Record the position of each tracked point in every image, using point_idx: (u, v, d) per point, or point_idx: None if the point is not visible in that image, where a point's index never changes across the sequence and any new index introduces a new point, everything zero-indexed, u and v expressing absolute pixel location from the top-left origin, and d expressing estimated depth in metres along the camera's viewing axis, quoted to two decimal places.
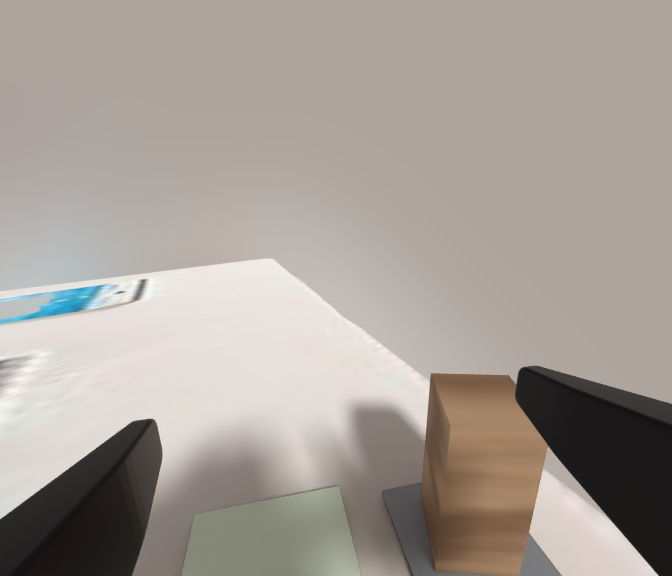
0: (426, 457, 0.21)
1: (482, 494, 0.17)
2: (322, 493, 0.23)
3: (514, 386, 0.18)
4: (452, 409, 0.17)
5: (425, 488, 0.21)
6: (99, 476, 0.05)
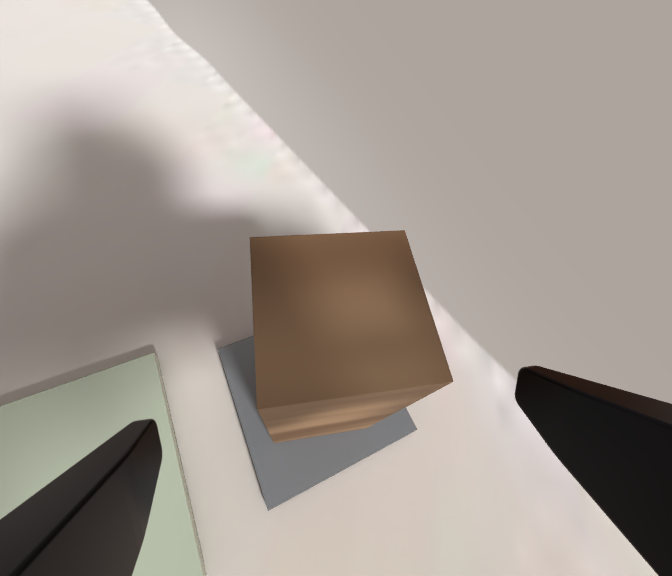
0: None
1: (326, 421, 0.11)
2: (127, 368, 0.16)
3: (409, 262, 0.09)
4: (273, 350, 0.08)
5: None
6: (99, 476, 0.05)
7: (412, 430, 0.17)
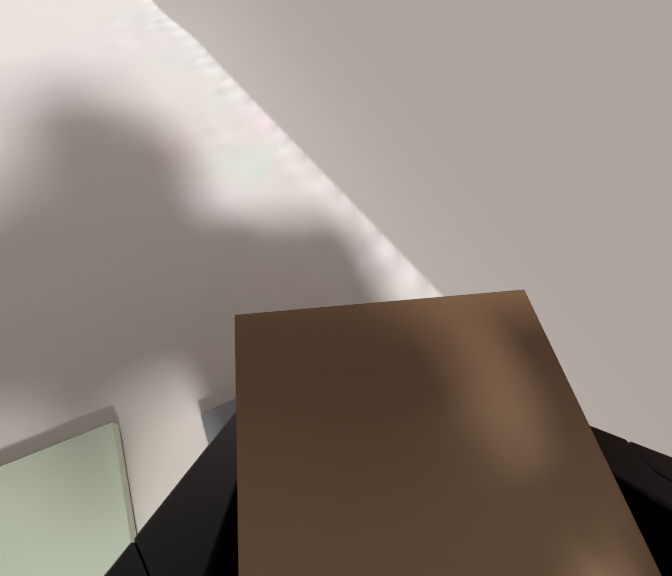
0: None
1: None
2: (74, 447, 0.12)
3: (547, 358, 0.05)
4: None
5: None
6: None
7: None
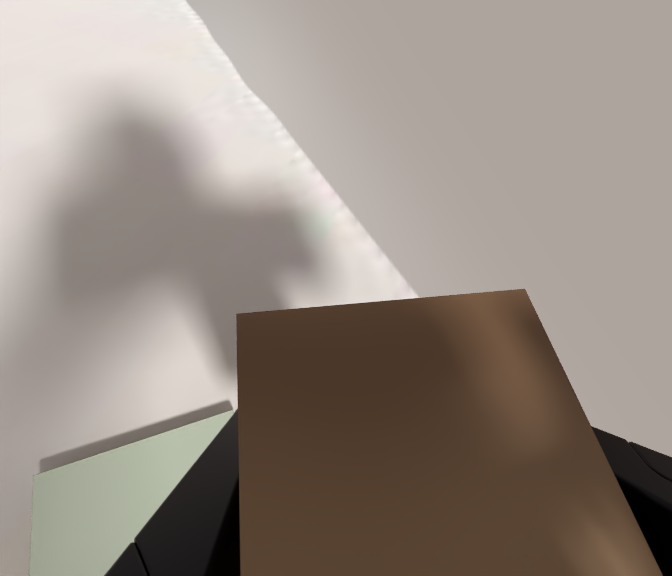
0: None
1: None
2: (210, 423, 0.19)
3: (548, 357, 0.05)
4: None
5: None
6: None
7: None
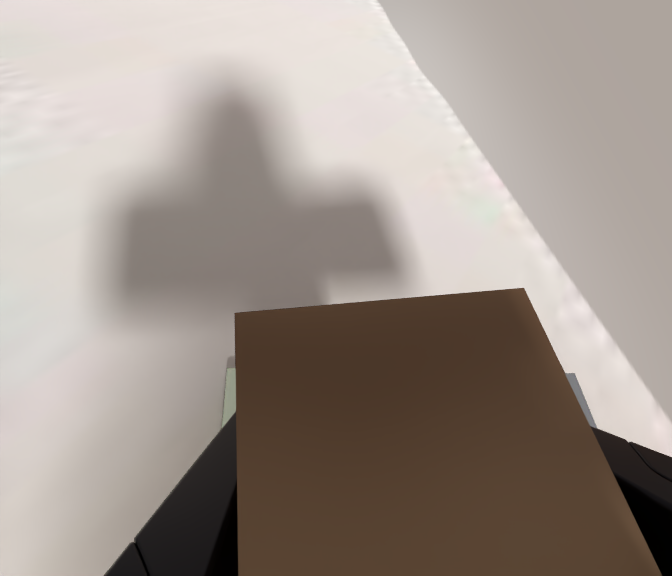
0: None
1: None
2: None
3: (546, 356, 0.05)
4: None
5: None
6: None
7: None
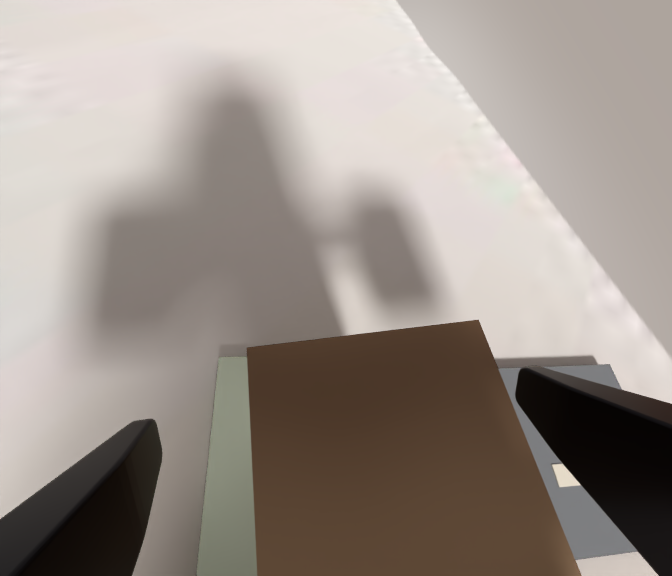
0: None
1: None
2: None
3: (493, 377, 0.06)
4: None
5: None
6: (99, 476, 0.05)
7: None
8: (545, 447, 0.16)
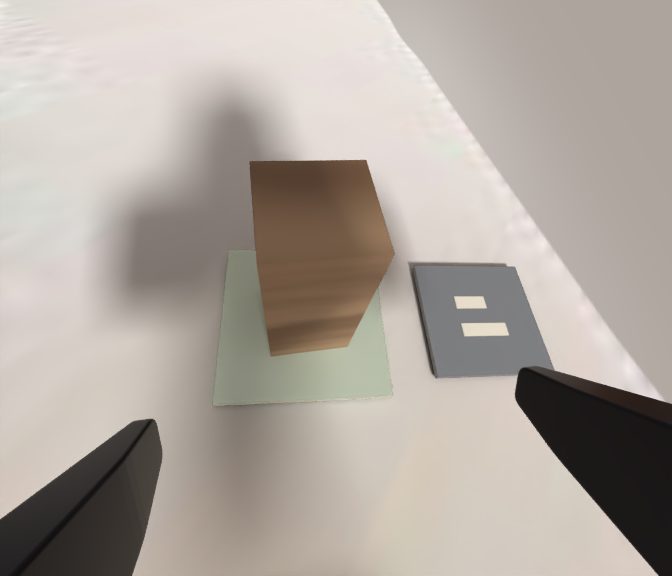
0: None
1: (310, 311, 0.14)
2: None
3: (368, 180, 0.13)
4: (267, 231, 0.11)
5: None
6: (99, 476, 0.05)
7: None
8: (458, 313, 0.22)
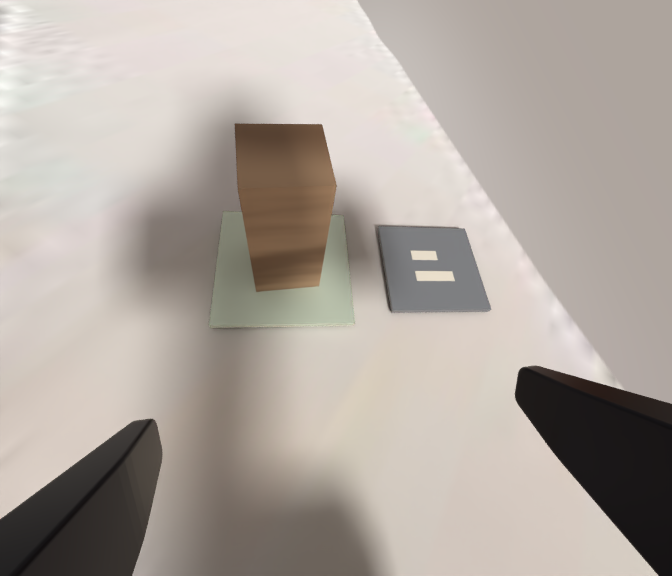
0: None
1: (282, 240, 0.19)
2: None
3: (322, 138, 0.17)
4: (245, 169, 0.15)
5: None
6: (99, 476, 0.05)
7: (487, 308, 0.25)
8: (413, 263, 0.27)
